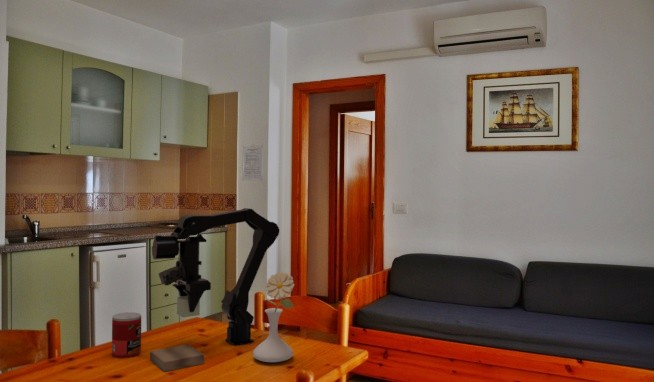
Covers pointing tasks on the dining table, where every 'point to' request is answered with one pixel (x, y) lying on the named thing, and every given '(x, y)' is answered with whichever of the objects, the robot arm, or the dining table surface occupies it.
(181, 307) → the cube
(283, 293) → the flower in vase
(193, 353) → the base
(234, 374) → the dining table surface
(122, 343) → the canned food
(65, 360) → the dining table surface
